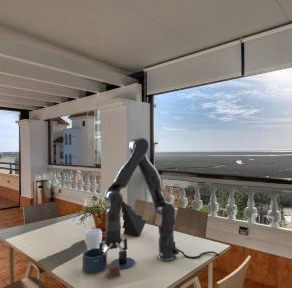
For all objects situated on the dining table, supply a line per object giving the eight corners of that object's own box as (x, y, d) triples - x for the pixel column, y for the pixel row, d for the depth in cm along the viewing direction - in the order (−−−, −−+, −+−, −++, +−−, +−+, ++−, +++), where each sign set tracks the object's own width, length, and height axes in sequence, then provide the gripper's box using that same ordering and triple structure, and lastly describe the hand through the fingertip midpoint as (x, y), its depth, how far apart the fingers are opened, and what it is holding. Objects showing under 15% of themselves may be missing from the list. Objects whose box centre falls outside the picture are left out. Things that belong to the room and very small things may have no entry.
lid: (131, 257, 147) (131, 245, 148) (137, 267, 135) (137, 254, 135) (108, 261, 142) (108, 249, 142) (113, 272, 130) (112, 259, 130)
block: (117, 272, 130) (117, 262, 130) (119, 276, 125) (119, 266, 125) (108, 274, 128) (108, 264, 128) (109, 278, 123) (109, 268, 123)
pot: (104, 259, 145) (104, 245, 145) (109, 273, 129) (109, 257, 129) (81, 263, 140) (81, 248, 140) (84, 278, 124) (84, 261, 124)
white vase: (88, 251, 157) (87, 228, 157) (104, 251, 156) (104, 228, 157) (81, 259, 146) (81, 233, 146) (99, 259, 146) (98, 233, 146)
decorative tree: (124, 237, 190) (107, 206, 172) (132, 222, 202) (117, 191, 183) (141, 240, 184) (125, 208, 166) (148, 224, 196) (134, 192, 178)
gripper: (125, 224, 133) (125, 254, 133) (98, 228, 128) (98, 259, 127) (128, 228, 127) (128, 260, 126) (100, 232, 121) (100, 265, 120)
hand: (113, 259), depth 127 cm, fingers open, 8 cm apart
